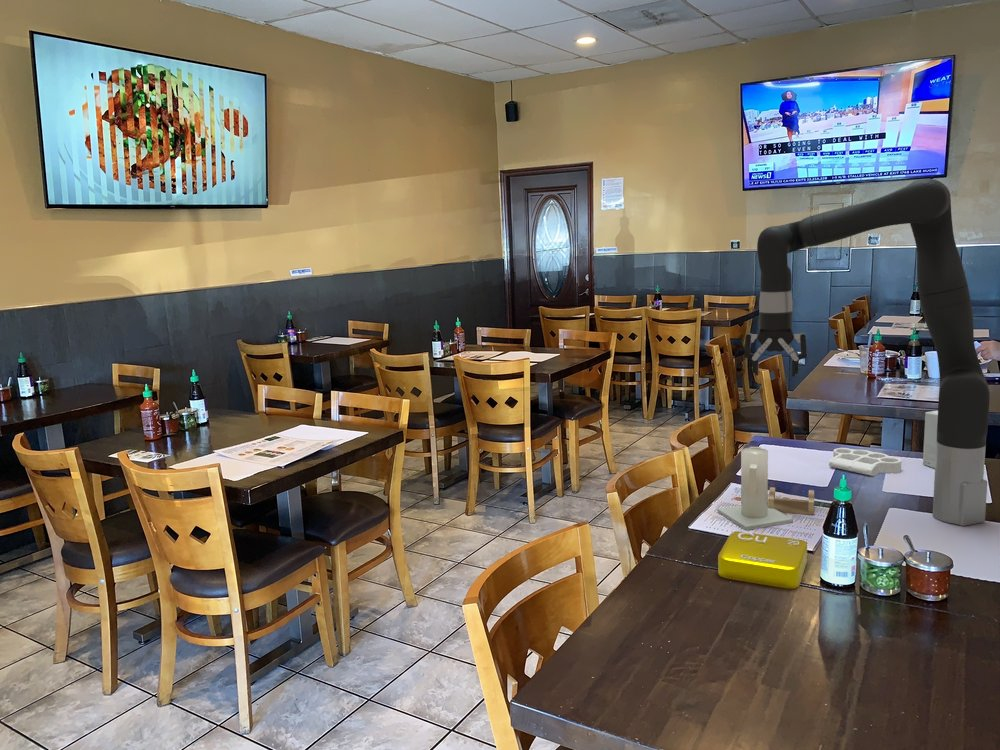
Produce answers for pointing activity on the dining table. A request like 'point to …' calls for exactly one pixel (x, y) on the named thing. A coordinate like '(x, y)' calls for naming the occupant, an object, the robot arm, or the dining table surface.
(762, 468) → the jug
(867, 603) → the dining table surface
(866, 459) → the knuckle duster
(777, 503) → the holder
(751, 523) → the plate
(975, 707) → the dining table surface
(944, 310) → the robot arm
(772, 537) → the element tile
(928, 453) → the skincare box
